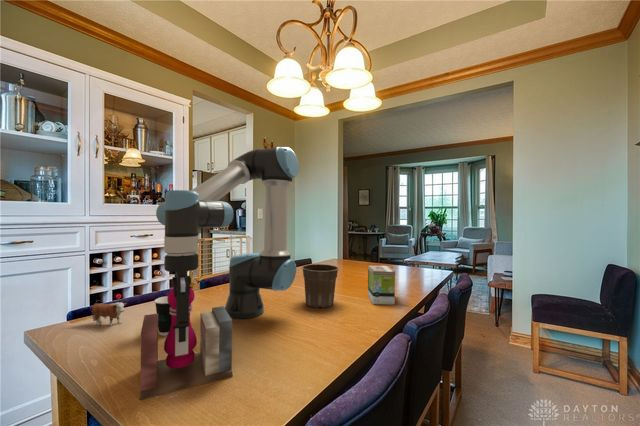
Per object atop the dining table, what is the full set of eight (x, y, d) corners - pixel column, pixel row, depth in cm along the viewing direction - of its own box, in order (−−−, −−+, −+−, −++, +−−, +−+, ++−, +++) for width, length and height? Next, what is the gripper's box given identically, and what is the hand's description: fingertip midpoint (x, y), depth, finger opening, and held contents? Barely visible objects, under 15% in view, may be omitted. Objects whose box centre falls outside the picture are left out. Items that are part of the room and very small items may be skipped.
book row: (222, 351, 82) (222, 303, 82) (232, 376, 70) (233, 319, 70) (144, 368, 73) (144, 313, 73) (139, 399, 61) (140, 334, 61)
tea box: (395, 304, 126) (395, 271, 126) (372, 304, 126) (372, 270, 126) (387, 295, 141) (388, 264, 141) (367, 295, 141) (367, 264, 141)
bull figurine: (120, 328, 98) (120, 304, 98) (87, 325, 101) (88, 301, 101) (131, 323, 102) (131, 300, 102) (99, 320, 105) (99, 298, 105)
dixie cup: (152, 339, 90) (152, 303, 90) (155, 329, 97) (155, 297, 97) (180, 335, 93) (181, 301, 93) (181, 326, 100) (182, 294, 100)
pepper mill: (158, 370, 67) (159, 283, 67) (171, 355, 74) (172, 276, 74) (190, 369, 67) (191, 283, 67) (200, 354, 74) (201, 276, 75)
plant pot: (345, 302, 129) (345, 266, 129) (326, 312, 115) (326, 272, 115) (314, 296, 138) (315, 262, 138) (294, 305, 124) (294, 267, 124)
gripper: (203, 258, 64) (202, 362, 63) (194, 248, 81) (193, 329, 81) (164, 260, 60) (163, 370, 60) (164, 249, 78) (163, 334, 78)
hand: (180, 347), depth 71 cm, fingers closed on pepper mill, 7 cm apart
